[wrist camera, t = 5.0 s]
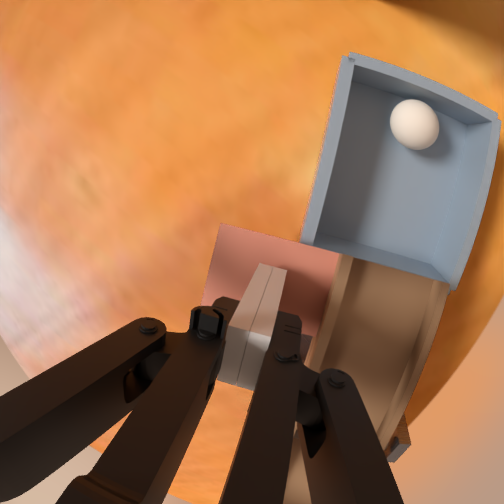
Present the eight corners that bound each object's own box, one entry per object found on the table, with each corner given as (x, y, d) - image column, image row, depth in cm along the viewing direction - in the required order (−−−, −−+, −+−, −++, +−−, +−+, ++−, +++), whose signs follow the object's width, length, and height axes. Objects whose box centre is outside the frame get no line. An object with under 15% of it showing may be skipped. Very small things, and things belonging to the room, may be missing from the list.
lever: (224, 224, 19) (212, 219, 16) (443, 282, 17) (466, 288, 14) (166, 493, 20) (154, 514, 17) (324, 528, 18) (325, 550, 15)
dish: (337, 69, 19) (343, 50, 14) (472, 120, 17) (502, 115, 13) (299, 236, 23) (296, 254, 19) (432, 272, 22) (453, 296, 17)
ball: (392, 90, 17) (403, 94, 14) (435, 107, 17) (452, 114, 14) (380, 134, 19) (389, 145, 16) (422, 149, 19) (437, 163, 16)
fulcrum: (274, 318, 25) (252, 401, 16) (400, 347, 24) (427, 428, 15) (241, 425, 31) (218, 495, 21) (339, 445, 29) (338, 515, 20)
